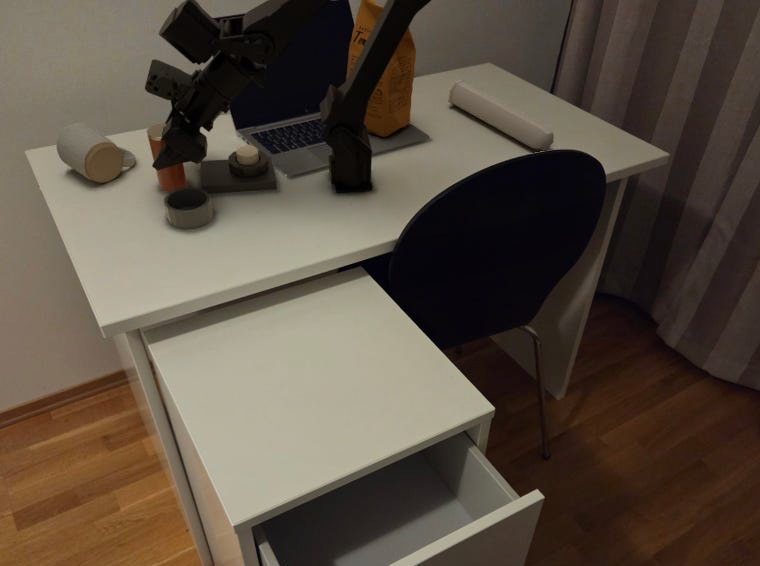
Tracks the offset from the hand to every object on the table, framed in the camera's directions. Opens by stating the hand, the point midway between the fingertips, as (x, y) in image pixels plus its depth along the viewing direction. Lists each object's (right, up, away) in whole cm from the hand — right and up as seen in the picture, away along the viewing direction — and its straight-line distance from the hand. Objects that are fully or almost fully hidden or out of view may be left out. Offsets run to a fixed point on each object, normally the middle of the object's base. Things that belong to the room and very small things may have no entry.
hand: (158, 153), depth 102 cm
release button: (+13, +1, +6) cm, 14 cm away
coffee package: (+34, +14, +25) cm, 44 cm away
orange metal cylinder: (+1, -4, +5) cm, 6 cm away
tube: (+59, +13, +26) cm, 66 cm away
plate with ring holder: (+11, -2, +7) cm, 13 cm away
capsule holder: (+6, -11, -1) cm, 12 cm away
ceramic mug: (-12, -1, +7) cm, 14 cm away
